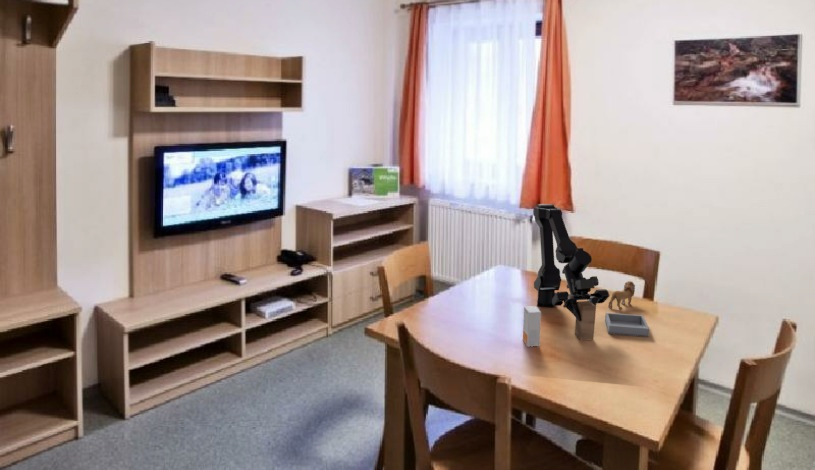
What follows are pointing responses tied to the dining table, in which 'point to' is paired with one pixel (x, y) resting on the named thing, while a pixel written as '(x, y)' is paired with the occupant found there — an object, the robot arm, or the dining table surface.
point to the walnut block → (585, 321)
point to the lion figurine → (623, 295)
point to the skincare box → (531, 326)
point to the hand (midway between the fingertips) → (587, 320)
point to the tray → (626, 324)
